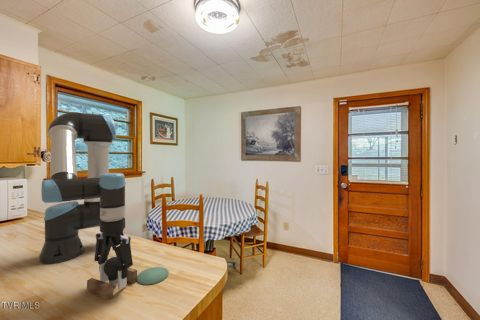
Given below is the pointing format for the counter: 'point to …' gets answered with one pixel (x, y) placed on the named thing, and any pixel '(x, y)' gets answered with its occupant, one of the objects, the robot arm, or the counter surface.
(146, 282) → the pad
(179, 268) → the counter surface
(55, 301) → the counter surface
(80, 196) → the robot arm
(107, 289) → the pair of wooden planks
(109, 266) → the light bulb
